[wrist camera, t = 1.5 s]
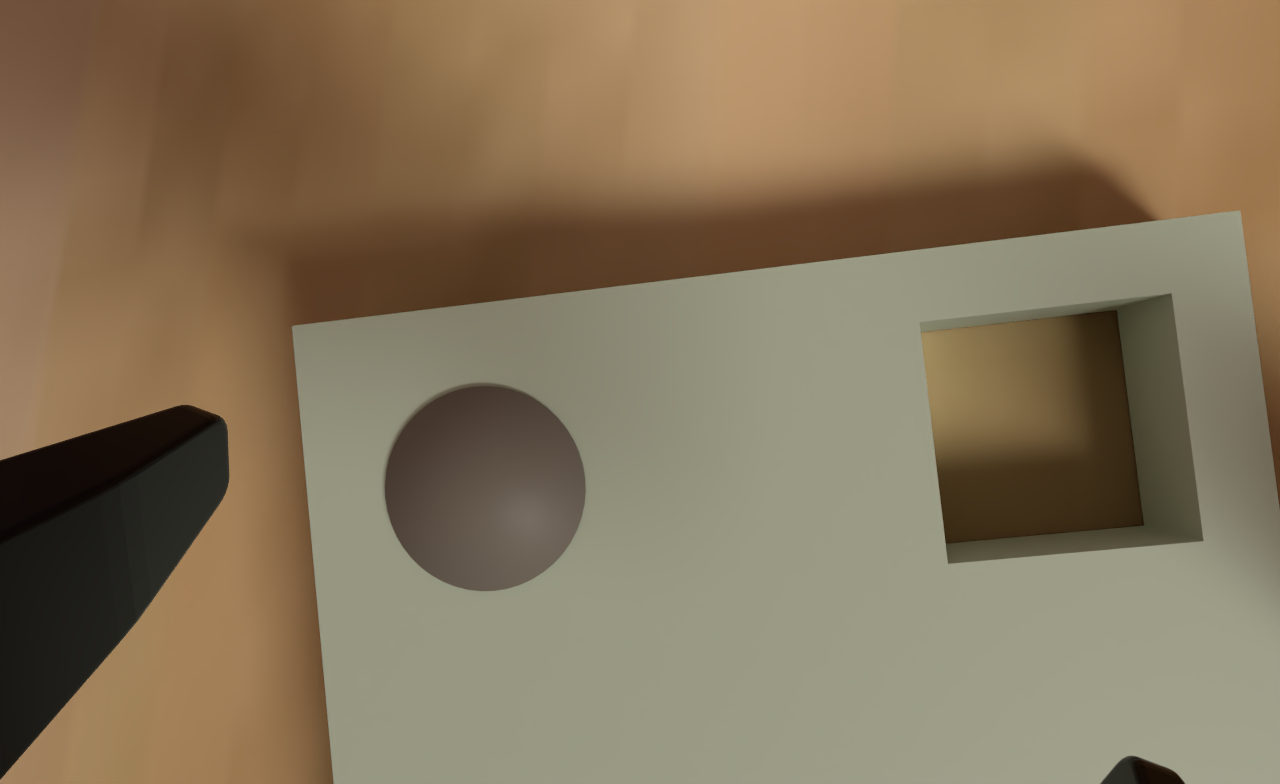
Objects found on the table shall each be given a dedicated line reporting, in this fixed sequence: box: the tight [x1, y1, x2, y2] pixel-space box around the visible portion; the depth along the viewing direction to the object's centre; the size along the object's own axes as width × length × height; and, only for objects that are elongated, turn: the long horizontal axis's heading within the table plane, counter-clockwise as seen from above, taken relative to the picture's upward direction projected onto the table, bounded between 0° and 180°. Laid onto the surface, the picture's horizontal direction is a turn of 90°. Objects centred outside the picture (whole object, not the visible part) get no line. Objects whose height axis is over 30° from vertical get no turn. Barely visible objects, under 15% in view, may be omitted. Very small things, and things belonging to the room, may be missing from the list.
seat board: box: [292, 211, 1280, 784], centre depth 22 cm, size 20×20×3 cm
